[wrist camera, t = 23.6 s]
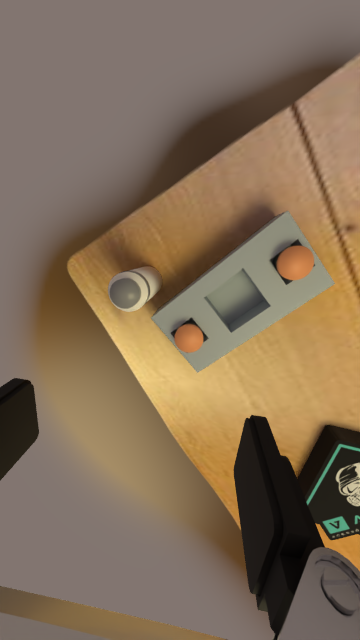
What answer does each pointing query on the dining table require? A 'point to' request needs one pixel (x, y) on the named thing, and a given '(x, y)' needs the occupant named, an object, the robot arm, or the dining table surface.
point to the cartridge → (134, 287)
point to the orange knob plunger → (189, 337)
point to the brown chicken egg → (294, 262)
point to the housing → (242, 293)
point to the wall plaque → (334, 482)
